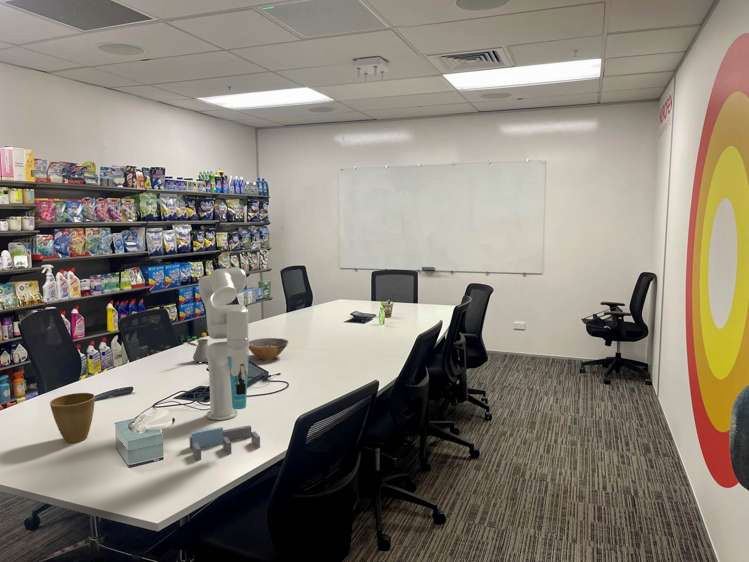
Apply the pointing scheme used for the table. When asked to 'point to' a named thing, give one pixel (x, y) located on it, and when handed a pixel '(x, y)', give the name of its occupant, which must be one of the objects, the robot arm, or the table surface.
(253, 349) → the bowl
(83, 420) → the plant pot
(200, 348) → the coffee pot
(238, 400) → the tube
